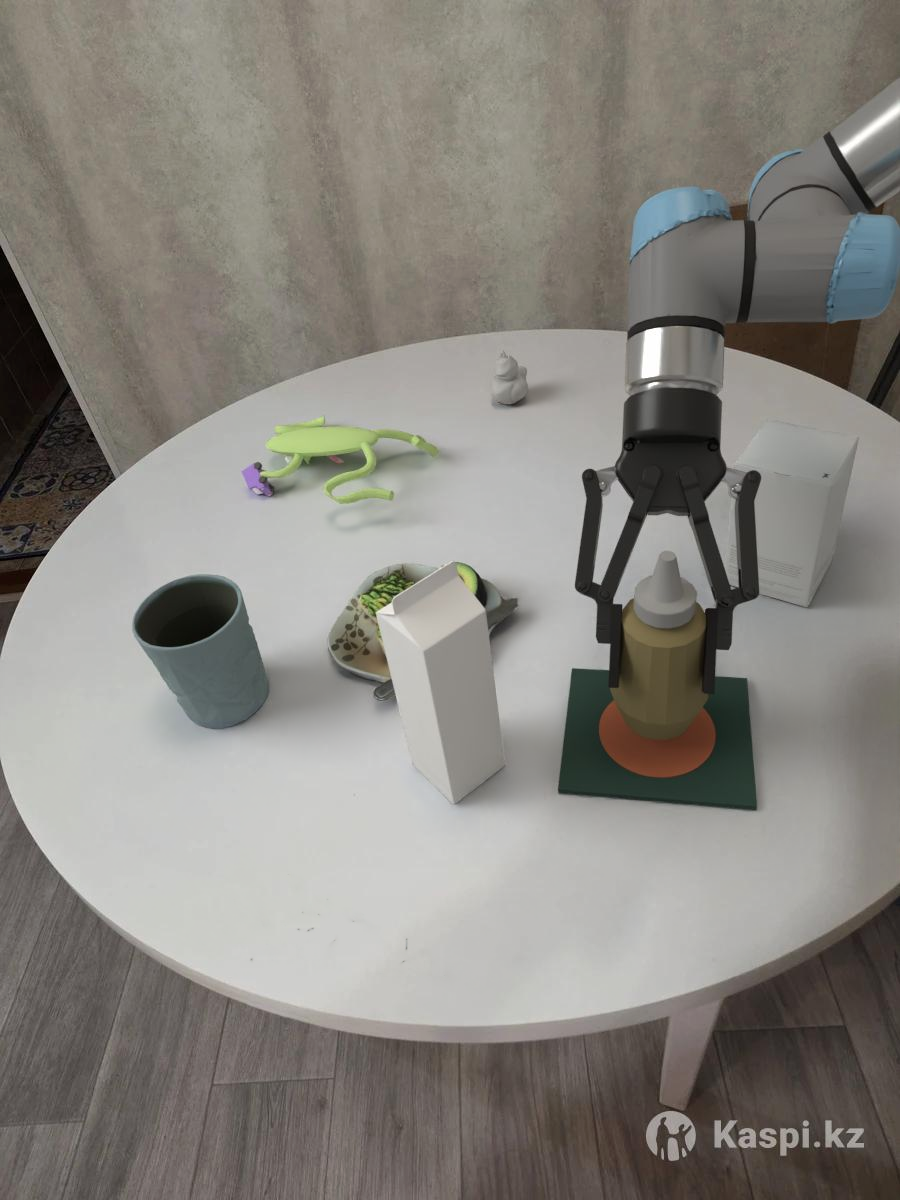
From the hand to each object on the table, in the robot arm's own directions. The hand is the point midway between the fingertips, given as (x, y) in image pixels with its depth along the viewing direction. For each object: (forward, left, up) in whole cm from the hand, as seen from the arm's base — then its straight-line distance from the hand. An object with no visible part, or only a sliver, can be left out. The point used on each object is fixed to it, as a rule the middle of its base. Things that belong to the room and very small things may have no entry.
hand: (660, 689), depth 67 cm
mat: (0, -4, -10) cm, 11 cm away
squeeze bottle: (0, -4, -8) cm, 8 cm away
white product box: (-12, -27, -10) cm, 31 cm away
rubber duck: (+21, -63, -10) cm, 67 cm away
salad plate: (+24, -16, -10) cm, 30 cm away
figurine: (+41, -43, -10) cm, 60 cm away
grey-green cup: (+42, -5, -10) cm, 43 cm away
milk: (+17, +1, -10) cm, 20 cm away
